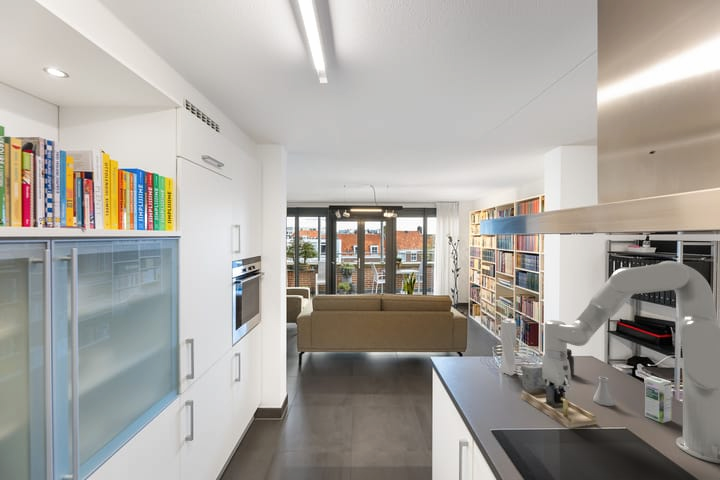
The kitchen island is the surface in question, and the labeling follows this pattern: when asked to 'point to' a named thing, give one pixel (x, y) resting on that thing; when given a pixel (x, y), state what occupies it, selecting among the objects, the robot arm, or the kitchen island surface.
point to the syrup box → (658, 399)
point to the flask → (603, 393)
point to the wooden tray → (565, 415)
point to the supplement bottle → (570, 361)
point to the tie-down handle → (552, 397)
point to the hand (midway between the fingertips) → (555, 400)
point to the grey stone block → (532, 375)
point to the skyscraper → (508, 346)
